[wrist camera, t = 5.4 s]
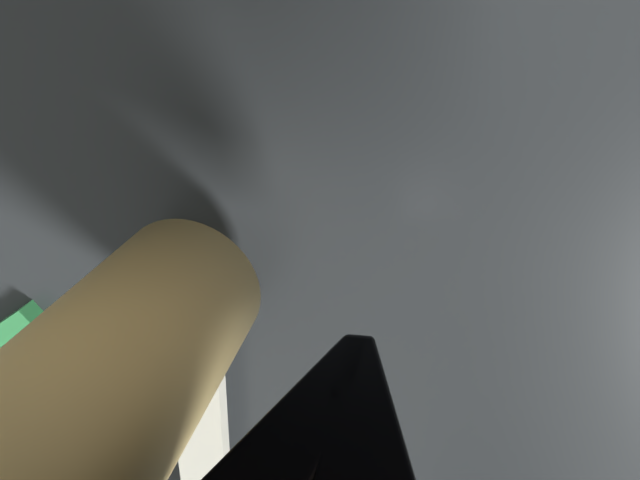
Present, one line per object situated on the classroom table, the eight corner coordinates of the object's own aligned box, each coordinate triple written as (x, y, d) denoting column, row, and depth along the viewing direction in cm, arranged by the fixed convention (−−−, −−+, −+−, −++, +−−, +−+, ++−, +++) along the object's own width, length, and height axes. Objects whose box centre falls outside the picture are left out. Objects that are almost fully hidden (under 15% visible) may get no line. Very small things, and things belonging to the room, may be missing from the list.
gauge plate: (567, 644, 18) (583, 736, 16) (28, 549, 23) (-16, 610, 21) (764, -278, 8) (893, -379, 5) (-306, -85, 13) (-463, -97, 10)
